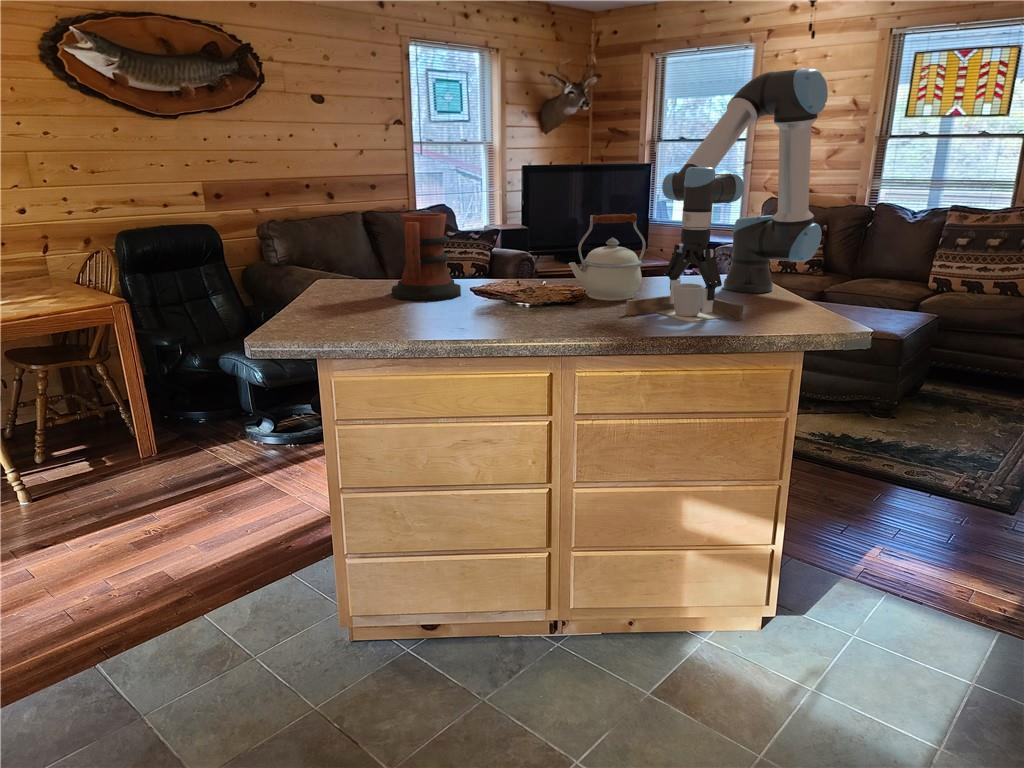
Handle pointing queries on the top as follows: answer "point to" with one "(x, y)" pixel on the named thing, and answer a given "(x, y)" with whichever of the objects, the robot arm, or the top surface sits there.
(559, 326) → the top surface
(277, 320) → the top surface
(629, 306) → the wooden corner frame
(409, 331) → the top surface
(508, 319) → the top surface
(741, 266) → the robot arm
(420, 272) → the tankard
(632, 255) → the kettle
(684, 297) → the cup
